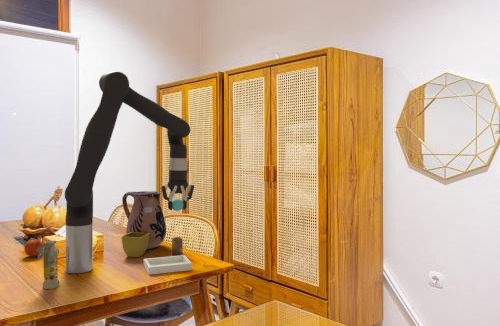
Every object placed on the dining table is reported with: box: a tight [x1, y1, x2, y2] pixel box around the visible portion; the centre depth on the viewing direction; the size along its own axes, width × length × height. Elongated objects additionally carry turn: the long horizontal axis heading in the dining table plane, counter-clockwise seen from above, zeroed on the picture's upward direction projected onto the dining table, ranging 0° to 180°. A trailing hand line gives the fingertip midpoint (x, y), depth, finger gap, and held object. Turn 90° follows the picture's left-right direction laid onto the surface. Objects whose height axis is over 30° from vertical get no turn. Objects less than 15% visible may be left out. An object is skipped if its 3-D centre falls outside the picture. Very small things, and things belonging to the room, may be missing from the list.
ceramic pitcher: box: [121, 190, 167, 250], centre depth 190 cm, size 18×21×25 cm
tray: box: [143, 254, 193, 275], centre depth 160 cm, size 16×12×3 cm
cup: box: [169, 236, 185, 256], centre depth 176 cm, size 6×6×8 cm
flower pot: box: [121, 232, 150, 258], centre depth 176 cm, size 9×9×9 cm
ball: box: [172, 198, 183, 212], centre depth 175 cm, size 5×5×5 cm
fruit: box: [24, 237, 44, 258], centre depth 173 cm, size 7×7×8 cm
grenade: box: [36, 240, 60, 290], centre depth 137 cm, size 6×7×15 cm
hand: (177, 209), depth 175 cm, fingers closed on ball, 5 cm apart
